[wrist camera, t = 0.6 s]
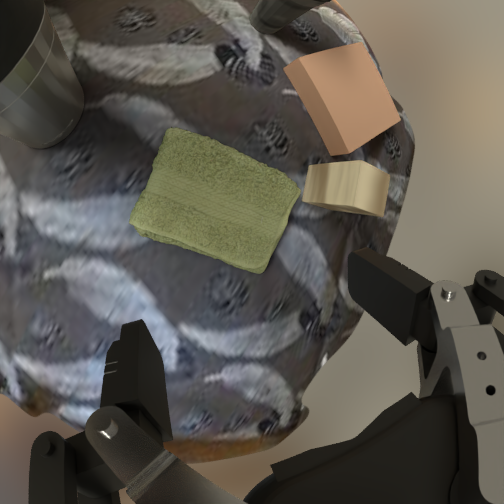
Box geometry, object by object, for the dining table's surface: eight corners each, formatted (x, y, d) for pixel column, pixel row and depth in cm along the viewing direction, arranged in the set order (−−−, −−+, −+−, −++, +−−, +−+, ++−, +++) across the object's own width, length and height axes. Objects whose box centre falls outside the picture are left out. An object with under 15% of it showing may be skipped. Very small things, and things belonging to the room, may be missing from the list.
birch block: (301, 201, 36) (353, 206, 27) (308, 165, 35) (361, 160, 26) (330, 209, 38) (383, 217, 29) (336, 176, 37) (390, 175, 28)
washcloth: (260, 274, 36) (271, 282, 33) (125, 229, 28) (123, 233, 26) (296, 181, 35) (310, 180, 32) (169, 121, 28) (173, 113, 25)
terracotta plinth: (282, 68, 31) (298, 57, 27) (345, 49, 34) (361, 41, 30) (330, 155, 36) (349, 153, 32) (383, 123, 39) (400, 120, 35)
